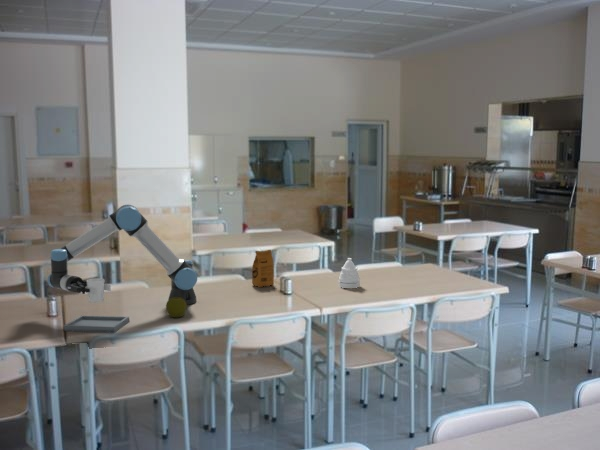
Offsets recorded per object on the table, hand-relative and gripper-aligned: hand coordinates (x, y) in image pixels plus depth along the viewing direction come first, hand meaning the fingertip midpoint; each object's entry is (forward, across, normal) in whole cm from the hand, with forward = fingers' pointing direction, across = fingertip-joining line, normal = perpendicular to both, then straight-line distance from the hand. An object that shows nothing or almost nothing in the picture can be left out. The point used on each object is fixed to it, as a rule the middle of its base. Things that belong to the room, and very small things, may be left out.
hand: (102, 289), depth 281 cm
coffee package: (+5, -114, -18) cm, 116 cm away
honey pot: (+51, -141, -18) cm, 151 cm away
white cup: (-5, 0, -6) cm, 8 cm away
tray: (-5, 0, -18) cm, 19 cm away
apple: (+14, -33, -18) cm, 40 cm away
